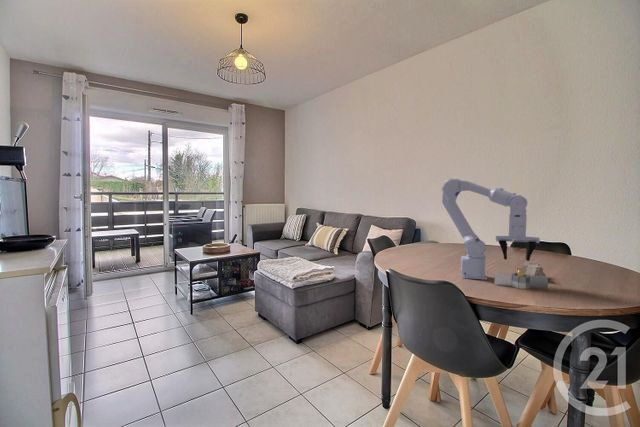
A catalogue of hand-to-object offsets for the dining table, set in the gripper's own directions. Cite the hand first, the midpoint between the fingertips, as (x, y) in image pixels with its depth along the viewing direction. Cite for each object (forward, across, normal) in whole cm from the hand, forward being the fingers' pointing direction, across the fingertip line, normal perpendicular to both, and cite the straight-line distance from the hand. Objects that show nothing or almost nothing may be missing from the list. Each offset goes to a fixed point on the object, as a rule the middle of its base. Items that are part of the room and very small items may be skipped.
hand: (516, 259), depth 121 cm
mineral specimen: (+10, +8, +11) cm, 17 cm away
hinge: (+9, +1, -5) cm, 11 cm away
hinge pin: (+9, +1, -5) cm, 11 cm away
